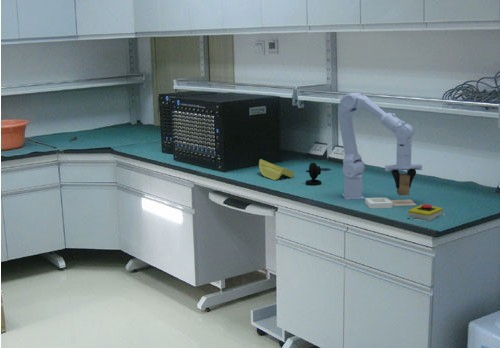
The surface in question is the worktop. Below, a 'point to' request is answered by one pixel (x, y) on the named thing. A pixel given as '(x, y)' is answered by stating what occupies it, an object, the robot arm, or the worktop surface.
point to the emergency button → (425, 212)
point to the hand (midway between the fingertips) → (403, 188)
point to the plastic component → (273, 170)
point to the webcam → (313, 174)
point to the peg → (404, 184)
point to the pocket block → (378, 203)
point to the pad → (402, 202)
